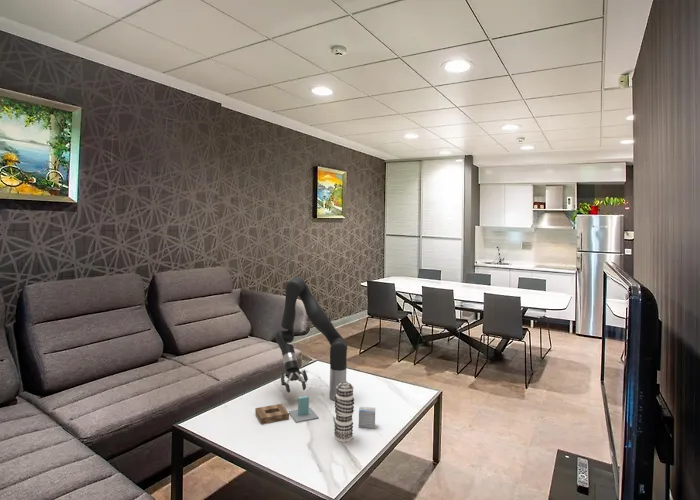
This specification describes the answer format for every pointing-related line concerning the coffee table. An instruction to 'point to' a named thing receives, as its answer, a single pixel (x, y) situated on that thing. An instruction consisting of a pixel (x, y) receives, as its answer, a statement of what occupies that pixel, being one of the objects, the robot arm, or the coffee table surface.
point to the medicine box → (367, 417)
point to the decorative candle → (344, 412)
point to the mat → (303, 416)
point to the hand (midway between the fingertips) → (296, 390)
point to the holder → (271, 413)
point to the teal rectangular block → (303, 405)
